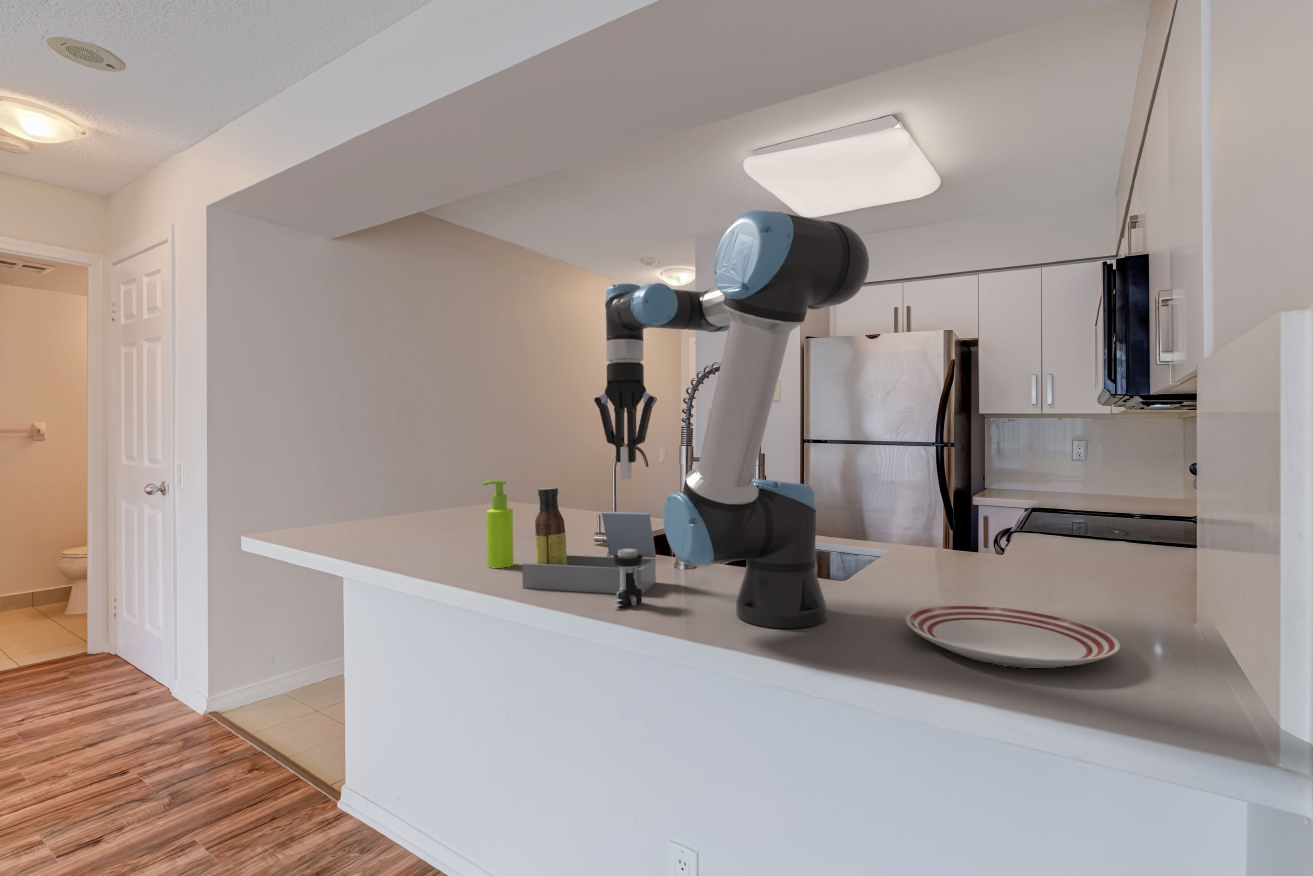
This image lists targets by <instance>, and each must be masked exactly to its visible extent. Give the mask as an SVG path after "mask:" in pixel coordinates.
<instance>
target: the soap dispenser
mask: <svg viewBox="0 0 1313 876" xmlns="http://www.w3.org/2000/svg"><path fill="white" fill-rule="evenodd" d="M506 484H507V481H505V480H488V481H484V482H481V484H480V485H482V486H487V485H495V493H494V494H492V495H491V508H490V509H488V510H486V542H487V543H486V546H487V547H486V549H487V567H488V566H489V567H495V568H501V569H504V568H503V567H508V568H511V567H510V566H512V567H513V566H514V520H513V519H514V517H513V516H514V515H513V509H511V508H508V495H507V494H506V493H504V485H506ZM489 567H488V568H489Z"/></svg>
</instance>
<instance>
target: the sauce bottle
mask: <svg viewBox="0 0 1313 876" xmlns="http://www.w3.org/2000/svg"><path fill="white" fill-rule="evenodd" d="M537 494H538V497H539V512H538V514H537V516H536V518H535V521H534V522H535V523H534V528H535V529H534V530H535V535H534V537H535V554H536V555H535V556H536V564H552V565H567V555H568V554H567V538H566V527H565V520H564V518H563V516H562V514H561V511H560V510H559V509H560V508H559V503H558V502H559V501H558V495H559V488H558V487H557V486H556V487H554V486H553V487H552V486H551V487H550V486H549V487H548V486H547V487H540V488H538V490H537Z"/></svg>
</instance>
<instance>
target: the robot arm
mask: <svg viewBox="0 0 1313 876" xmlns="http://www.w3.org/2000/svg"><path fill="white" fill-rule="evenodd" d="M713 265H714V266H713V273H714V274H715V277H714V283H715V284H716V287H713V288H711V289H707V290H704V291H695V290H694V291H693V290H686V289H685V290H684V289H683V290H682V289H676V288H675V289H674V288H671V287H670V286H668V284H665V283H661V282H655V283H648V284H646V285H643V286H640V285H638V284H635V283H616V284H612V285H609V286H608V287H607V289H606V293H605V296H606V297H605V303H604V307H605V322H606V323H605V326H606V328H605V329H606V330H605V331H606V334H605V335H606V347H605V348H606V355H605V356H606V357H605V358H606V359H605V360H606V361H607V362H609V363H608V364H607V365H606V387H605V389H604V393H603V394H601V395H600V396H598V397H597V396H596V397H595V398H593V399H594V400H593V401H594V403H595V404H596V407H597V408H598V411H599V413H600V418H601V421H602V422H601V423H602V427H603V431H604V434H605V435H604V436H605V439H606V442H607V444H611V445H613V446H614V447H615V460H616V463H620V480H631V479H632V478H633V477H632V475H633V473H632V472H633V471H632V470H633V469H632V464H633V463H636V461H637V446H638V445H641V444H644V442H646V439H647V438H646V437H647V433H648V429H649V423H650V419H651V415H652V411H653V407H654V406H655V405H656V402H657V401H658V398H657V397H656V396H654V395H652V394H651V393H648V392H647V389H646V386H645V384H644V382H645V379H644V377H645V375H644V374H645V373H644V370H645V369H644V368H645V367H644V364H643V363H641V362H642V361H644V330H645V329H649V328H651V329H652V328H654V329H655V328H657V329H668V330H669V329H670V330H686V331H687V330H688V331H690V330H691V331H700V332H701V331H702V332H708V333H718V332H721V333H722V332H727V335H726V338H725V344H724V348H723V353H722V356H721V357H722V358H721V360H720V361H721V362H720V367H719V372H718V375H717V376H718V377H717V380H716V386H715V389H714V392H713V398H712V401H711V402H712V403H711V407H710V412H709V417H708V420H707V426H706V429H705V433H704V434H705V435H704V439H703V442H702V447H701V453H700V457H699V462H698V465H697V467H696V468H695V467H694V468H693V469H692V470H690V471H688V472H687V474H686V475H685V479H684V482H683V483H684V484H683V488H682V491H675V492H673V493H670V495H668V496H667V498H666V499H665V501H664V505H663V511H662V512H663V513H662V514H663V515H662V516H663V517H662V519H663V528H664V533H665V536H666V540H667V543H668V544H669V548H670V549H671V551H672V553H673V554H674V556H675V557H676V558H677V559H678V560H679V561H680V562H681V563H683V564H684V565H686V566H692V567H693V566H711V565H713V564H714V565H715V564H721V563H722V564H723V563H727V562H728V563H729V562H736V561H743V560H744V561H746V562H745V563H746V564H745V565H746V566H745V573H744V576H743V578H742V582H741V585H740V588H739V591H738V595H737V598H736V601H735V610H736V611H735V615H736V617H737V618H739V619H740V620H741V621H744V622H746V623H748V624H752V625H754V626H761V627H767V628H773V629H777V628H778V629H802V628H807V627H812V626H817V625H819V624H822V623H823V622H825V621H826V620H827V603H826V600H825V596H824V594H823V591H822V587H821V585H820V581H819V578H818V575H817V572H816V571H817V570H816V522H817V521H816V520H817V519H816V517H817V516H816V515H817V508H816V500H815V497H816V496H815V492H814V489H813V488H812V487H811V486H809V485H808V484H805V483H797V482H788V481H778V480H768V479H762V478H761V479H759V478H753V477H754V474H755V469H756V465H757V461H758V457H759V453H760V449H761V446H762V442H763V439H764V434H765V430H766V428H767V427H766V426H767V423H768V420H769V419H768V418H769V415H770V412H771V407H772V403H773V400H774V397H775V392H776V389H777V388H776V387H777V384H778V381H779V376H780V373H781V369H782V364H783V361H784V358H785V355H786V353H785V352H786V350H787V346H788V342H789V337H790V334H791V332H792V331H793V330H794V329H796V328H798V327H800V326H801V325H803V324H804V323H805V320H806V316H807V313H808V310H813V311H814V310H819V309H822V308H827V307H832V306H833V307H834V306H836V305H837V306H838V305H842V304H843V303H845V302H848V301H849V300H851V299H852V298H853V297H854V296H856V295H857V294H858V293H859V292H860V290H861V289H862V288H863V286H864V285H865V282H866V280H867V277H868V273H869V269H870V266H869V265H870V259H869V253H868V249H867V246H866V245H865V243H864V241H863V239H862V238H861V236H859V234H858V233H856V232H855V231H854V230H853V229H852V228H850V227H849V226H847V225H844V224H842V223H840V222H835V221H829V220H827V221H826V220H823V219H816V218H811V217H805V216H800V215H796V214H789V213H786V212H782V211H774V210H773V211H770V210H759V209H758V210H751V211H747V212H745V213H743V214H741V215H740V216H738V217H737V218H736V219H735V221H734V222H732V223H730V225H729V226H728V227H727V229H726V231H725V232H724V234H723V235H722V237H721V240H720V242H719V244H718V247H717V250H716V252H715V257H714V264H713ZM642 400H643V401H642ZM609 401H610V403H611V405H612V406H613V412H614V426H613V421H612V417H611V413H610V412H611V411H610V409H609V406H608V403H609ZM641 401H642V402H643V407H642V409H641V410H642V411H641V416H640V420H639V425H638V430H637V412H638V406H639V404H640V403H641ZM625 412H626V424H627V426H626V429H627V430H626V433H627V435H626V439H627V440H626V441H627V443H625ZM625 445H626V446H625Z"/></svg>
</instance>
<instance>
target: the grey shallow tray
mask: <svg viewBox="0 0 1313 876" xmlns="http://www.w3.org/2000/svg"><path fill="white" fill-rule="evenodd" d="M656 563H657V561H656V558H650V557H643V558H642V559H641V564H640V565H638V567H636V584H637V588H638V589H641V590H642V595H643V594H645V593H646V592H647V590H649V589H650V588H651V587H653V586H654V584H655V583H657V579H656V577H657V576H656V574H657V571H656V567H657V566H656ZM521 569H522V570H521V571H522V573H521V575H522V576H521V577H522V589H529V590H530V589H532V590H548V591H549V590H551V591H565V592H566V591H567V592H579V593H580V592H581V593H582V592H583V593H584V592H585V593H598V594H614V595H616V593H617V592H619V591H620V590H619V588H620V568H619V566H617V565H615V559H614V558H613V556H604V555H602V556H601V555H585V554H584V555H582V554H579V555H577V554H567V565H552V564H537V563H529V562H528V563H526V562H523V563H522V568H521Z"/></svg>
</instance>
